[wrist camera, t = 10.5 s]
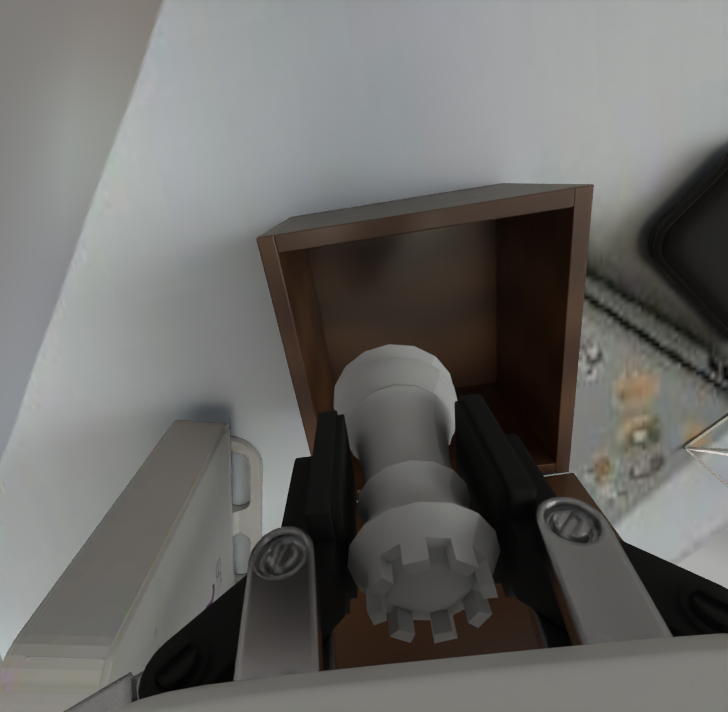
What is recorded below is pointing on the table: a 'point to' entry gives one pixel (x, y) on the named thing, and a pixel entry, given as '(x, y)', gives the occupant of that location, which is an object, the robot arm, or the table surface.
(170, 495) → the network device
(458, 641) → the lid
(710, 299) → the carrying case
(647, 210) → the table surface
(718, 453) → the geometric polyhedron
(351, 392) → the rook chess piece
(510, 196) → the chest
